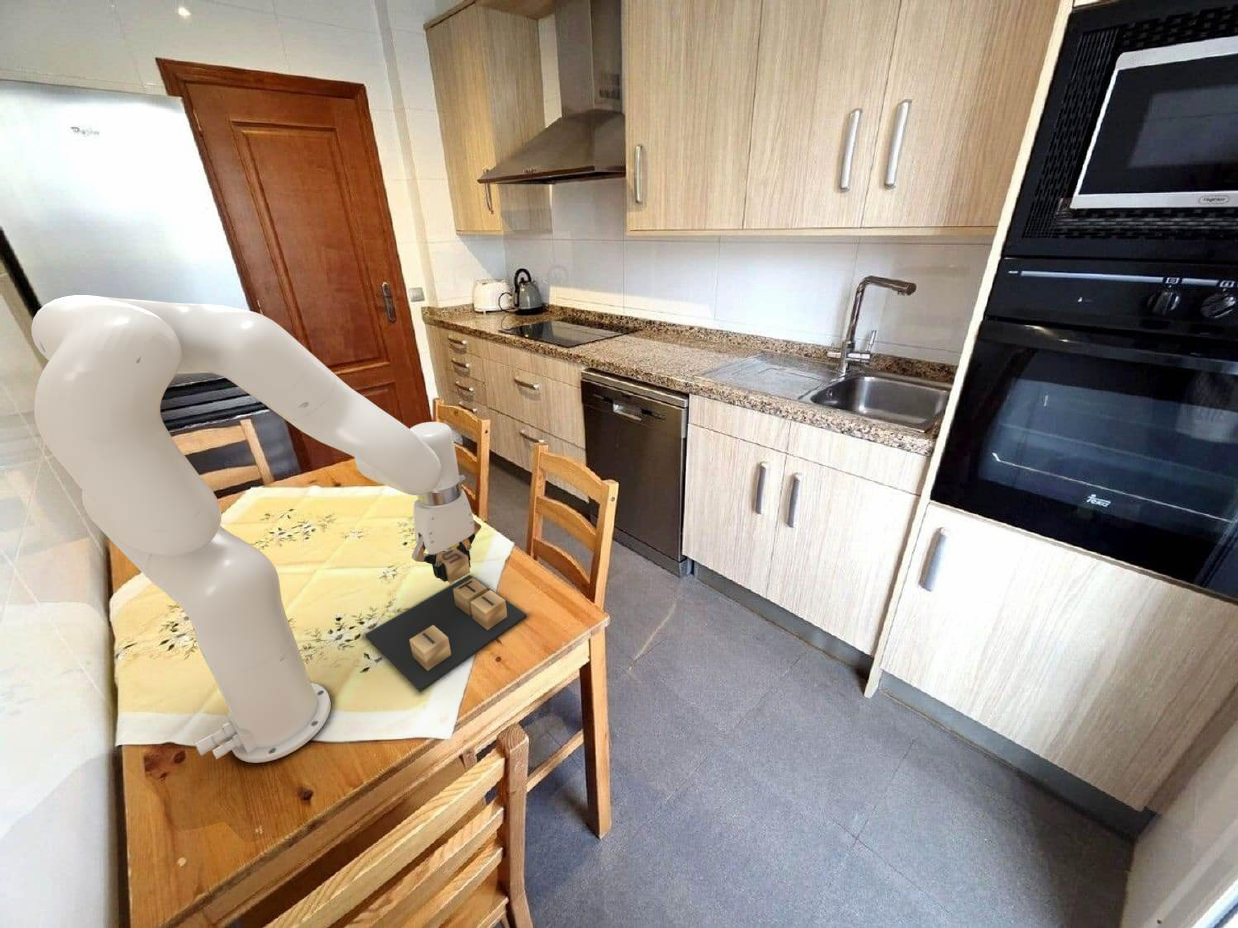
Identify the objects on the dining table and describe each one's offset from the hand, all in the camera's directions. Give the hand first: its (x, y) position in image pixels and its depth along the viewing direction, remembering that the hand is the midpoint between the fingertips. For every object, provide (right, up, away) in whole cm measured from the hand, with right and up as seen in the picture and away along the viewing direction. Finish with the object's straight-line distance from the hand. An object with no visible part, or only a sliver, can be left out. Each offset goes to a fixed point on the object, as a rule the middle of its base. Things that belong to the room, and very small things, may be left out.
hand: (453, 571), depth 98 cm
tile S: (0, -1, 0) cm, 1 cm away
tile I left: (+1, -12, -13) cm, 17 cm away
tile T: (+4, -6, -1) cm, 7 cm away
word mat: (+1, -9, -6) cm, 11 cm away
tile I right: (+8, -8, -4) cm, 12 cm away
